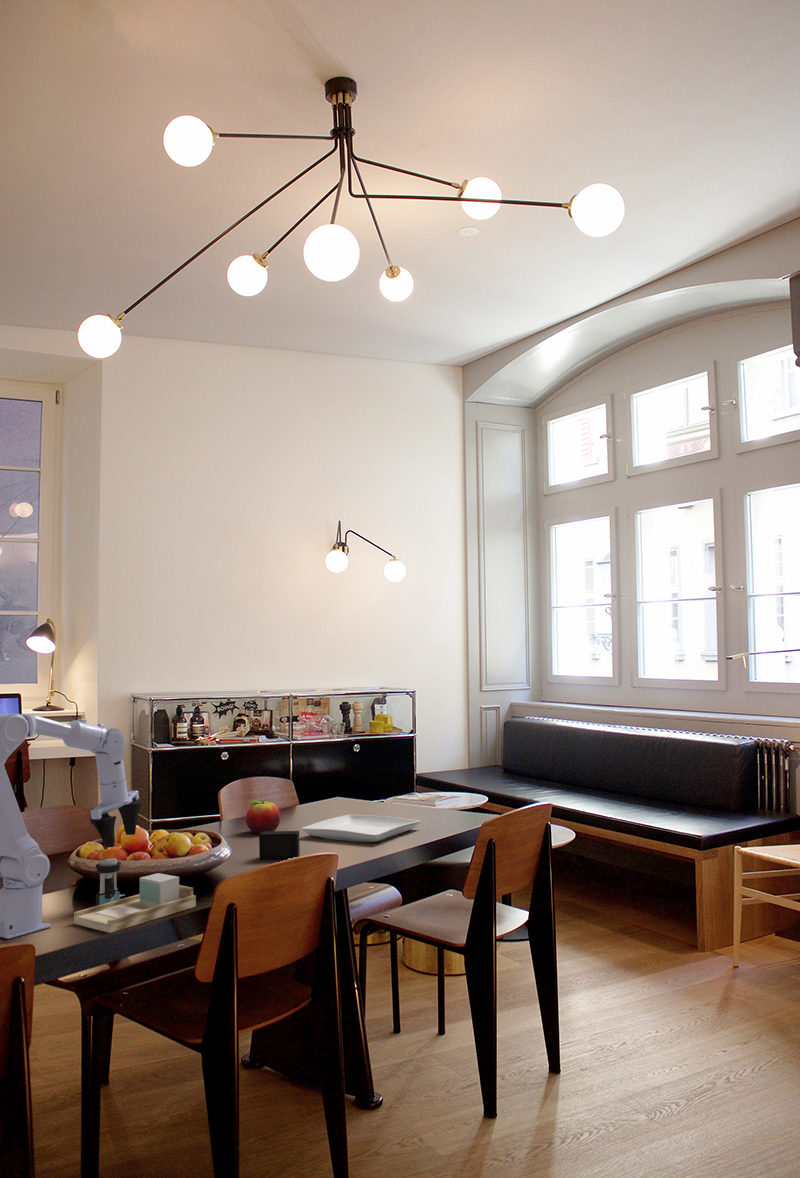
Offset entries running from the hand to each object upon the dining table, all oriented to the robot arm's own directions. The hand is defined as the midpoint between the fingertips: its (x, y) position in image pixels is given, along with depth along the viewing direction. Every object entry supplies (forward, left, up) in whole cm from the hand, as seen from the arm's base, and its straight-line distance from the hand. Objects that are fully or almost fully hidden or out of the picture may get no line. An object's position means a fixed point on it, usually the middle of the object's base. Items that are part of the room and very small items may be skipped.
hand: (120, 840), depth 198 cm
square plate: (+89, +1, -14) cm, 90 cm away
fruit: (+76, +30, -14) cm, 82 cm away
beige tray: (-4, -11, -14) cm, 18 cm away
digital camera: (+51, 0, -14) cm, 53 cm away
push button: (-2, 0, -14) cm, 14 cm away
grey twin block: (+1, -12, -12) cm, 17 cm away
